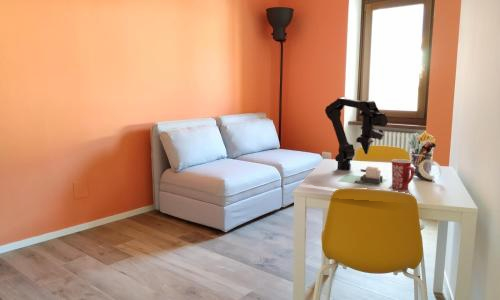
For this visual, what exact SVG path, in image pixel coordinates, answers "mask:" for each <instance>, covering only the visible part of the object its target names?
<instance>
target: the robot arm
mask: <svg viewBox="0 0 500 300" xmlns="http://www.w3.org/2000/svg"><path fill="white" fill-rule="evenodd" d="M344 107H350V108H355V109H357V110H359V111H360V112H361V113H359V114H358V116H360V117H362V120H361V126H360V129H361V133H360V136H358V137H356V139H355V142H356V143H360V145H361V147H362V149H363V151H364V154H365V155H368V153H369V150H370V147H371V144H372V143H373V142H375V140H378V141H381V140H383V139H384V136H385V132H384V130H383V129H379V130H378V129H376V128H375V126H376V127H382V128H383V127H386V126H387V124H388V122H389V119H388V117H387V115H386V113H385V112H380V110H379V108H378V106H377V104H376V102H375V101H374V100H362V101H361V100H357V99H351V98H347V97H338V98H337V99H336V100H334V101H333V102H331V103H329V105H327V106H325V109H324V111H325V114H326V117H327V118H328V119H329V120H330V121H331V124H332V126H333V130H334V133H335V136H336V139H337V141H338V144H339V145H338V150H337V151H338V154H337V155H336V156H335V157H334V160H335V162H337V167H336V168H337V170H341V171H350V170H351V169H352V163H351V162H352V160H353V159H354V157H355V154H356V152H355V151H356V150H355V148H354V144H352V143H349V142H348V139H347V136H346V132H345V129H344V127H343V124H342V120H341V116H342V110H343V109H344ZM372 139H374V140H372Z"/></svg>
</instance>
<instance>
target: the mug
mask: <svg viewBox="0 0 500 300" xmlns="http://www.w3.org/2000/svg"><path fill="white" fill-rule="evenodd" d="M411 164H412V160H409V159H404V158H403V159H402V158H400V159H399V158H397V159H396V158H394V159H391V180H392V181H391V186H392V187H391V188H392V189H394V190H399V191H404V190H409V184H410V183H411V182H412V180H413V178H414V176H415V175H414V174H415V170H414V167H413V166H412V165H411Z"/></svg>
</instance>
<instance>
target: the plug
mask: <svg viewBox="0 0 500 300" xmlns="http://www.w3.org/2000/svg"><path fill="white" fill-rule="evenodd" d="M360 172H361V173H362V172H363V173H365V174H366V177H368V178H376V179H378V178H380V176H381V172H382V171H381V169H379V167H375V166H367V167H366V168H365V169H361V168H360Z"/></svg>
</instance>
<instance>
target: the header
mask: <svg viewBox="0 0 500 300" xmlns="http://www.w3.org/2000/svg"><path fill="white" fill-rule="evenodd" d="M360 176H361V179H360V180H362V181H364V182H365V183H373V184H380V182H382V180H383V179H384V178H383V177H384V176H383V175H380V178H378V179H376V178H368V177H366V173H364V174H362V175H360Z"/></svg>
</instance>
